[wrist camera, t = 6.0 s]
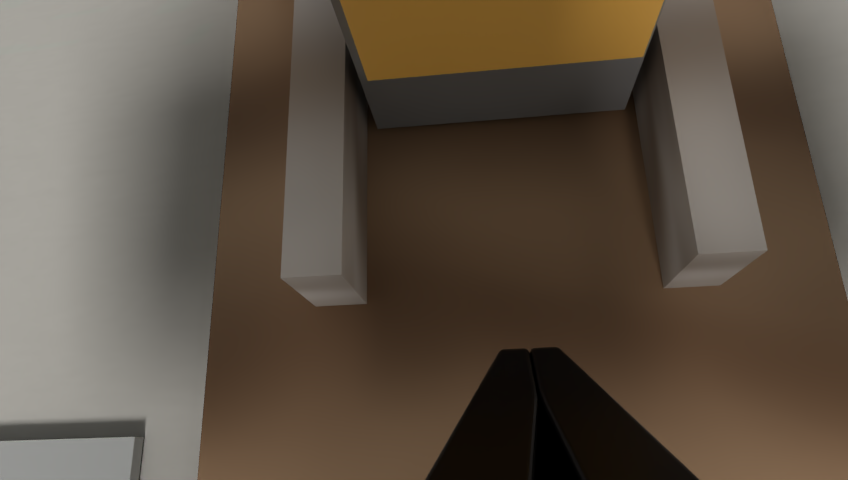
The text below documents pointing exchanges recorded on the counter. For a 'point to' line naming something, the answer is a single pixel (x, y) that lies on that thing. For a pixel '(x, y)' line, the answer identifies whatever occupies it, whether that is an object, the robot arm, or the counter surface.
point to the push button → (495, 56)
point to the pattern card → (71, 459)
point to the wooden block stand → (522, 259)
